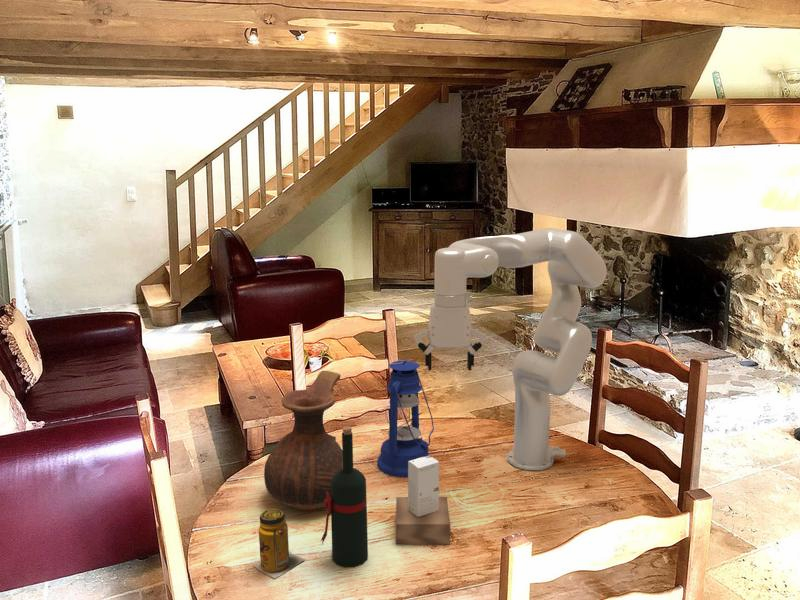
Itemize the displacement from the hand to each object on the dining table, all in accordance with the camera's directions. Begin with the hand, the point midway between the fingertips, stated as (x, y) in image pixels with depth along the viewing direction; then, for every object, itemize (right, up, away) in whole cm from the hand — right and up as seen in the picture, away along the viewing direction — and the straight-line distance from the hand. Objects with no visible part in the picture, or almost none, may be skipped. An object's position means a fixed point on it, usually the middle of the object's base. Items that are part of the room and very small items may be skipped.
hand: (449, 368), depth 174 cm
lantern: (-11, -29, +24) cm, 39 cm away
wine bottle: (-24, -39, -19) cm, 50 cm away
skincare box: (-7, -32, -10) cm, 34 cm away
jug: (-35, -33, +6) cm, 48 cm away
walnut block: (-7, -36, -9) cm, 38 cm away
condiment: (-38, -40, -21) cm, 59 cm away
